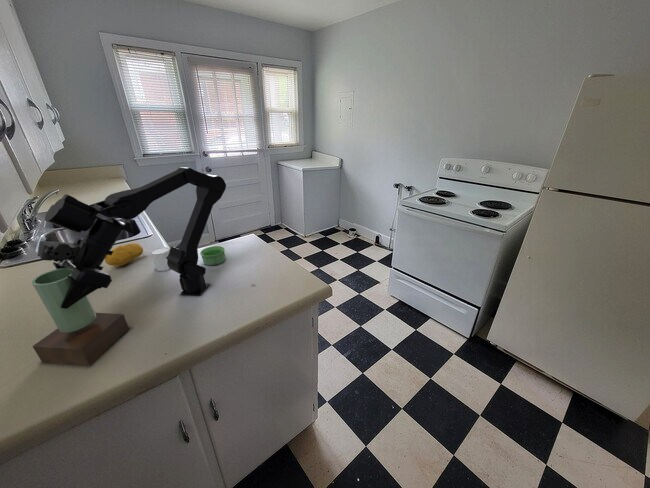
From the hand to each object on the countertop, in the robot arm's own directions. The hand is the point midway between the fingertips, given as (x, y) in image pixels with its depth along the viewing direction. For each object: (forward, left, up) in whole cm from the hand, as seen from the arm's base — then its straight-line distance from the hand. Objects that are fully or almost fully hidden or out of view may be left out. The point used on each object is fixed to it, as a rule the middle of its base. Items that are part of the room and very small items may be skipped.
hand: (58, 302), depth 61 cm
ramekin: (-12, -46, -13) cm, 49 cm away
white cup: (+5, -40, -14) cm, 43 cm away
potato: (+22, -43, -10) cm, 49 cm away
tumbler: (-1, -1, -7) cm, 7 cm away
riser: (-1, -1, -13) cm, 14 cm away
